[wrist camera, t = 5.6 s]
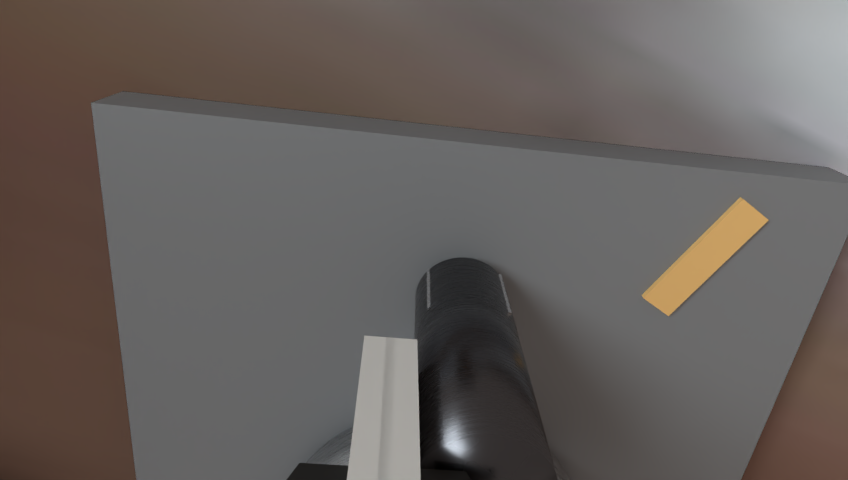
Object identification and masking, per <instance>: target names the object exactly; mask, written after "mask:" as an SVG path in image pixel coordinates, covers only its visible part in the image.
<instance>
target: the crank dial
mask: <svg viewBox="0 0 848 480" xmlns="http://www.w3.org/2000/svg"><path fill="white" fill-rule="evenodd" d="M414 339H417V347H418V389H419V431H420V469H437V470H454V471H466V472H467V474H468V476H469V477H470V479H471V480H571V479H570V477H569V476H568V474H567V472H566V471H565V469H564V467H563V466H562V464H561V463H560V462H559V461H558V460H557V459H556V457H555V456H554V455H553V454H552V453H551V452H550V449H549V446H548V442H547V438H546V435H545V431H544V427H543V424H542V420H541V416H540V413H539V409H538V405H537V402H536V398H535V394H534V390H533V387H532V383H531V379H530V376H529V372H528V368H527V365H526V361H525V357H524V354H523V350H522V346H521V343H520V339H519V335H518V332H517V328H516V324H515V321H514V317H513V313H512V310H511V306H510V302H509V298H508V295H507V291H506V287H505V284H504V282H503V279H502V275H501V274H498V273H497V271H496V270H495V269H493V268H492V267H491V266H490V265H488V264H486V263H484V262H482V261H480V260H477V259H473V258H466V257H458V258H451V259H447V260H444V261H442V262H440V263H438V264H436V265H434V266H433V267H431V268H430V269H427V272H426V273H425V274H424V275H423V277H422V278H421V280H420V282H419V284H418V286H417V289H416V294H415V328H414ZM352 432H353V427H351V428H349V429H347V430H345V431H344V432H342V433H340V434H339V435H337V436H335V437H334V438H332V439H331V440H329V441H328V442H327V443H326V444H324V445H323V446H322V447H321V448H319V449H318V450H317V451H316V452H315V453H314V454H313V455H312V456H311V457H310V459H309V460H308V461H307V462H306V463H312V464H329V465H346V466H348V465H349V457H350V449H351V441H352Z"/></svg>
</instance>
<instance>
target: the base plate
mask: <svg viewBox="0 0 848 480" xmlns="http://www.w3.org/2000/svg"><path fill="white" fill-rule="evenodd" d="M91 106H92V114H93V123H94V131H95V139H96V148H97V156H98V164H99V173H100V181H101V189H102V198H103V206H104V214H105V223H106V231H107V239H108V248H109V256H110V264H111V273H112V281H113V289H114V298H115V306H116V314H117V323H118V331H119V339H120V348H121V356H122V364H123V373H124V381H125V389H126V398H127V406H128V414H129V423H130V431H131V439H132V448H133V456H134V464H135V473H136V480H287V478H288V477H289V476H290V474H291V473H292V472H293V471H294V469H295V468H296V467H297V465H298V464H299V463H306V462H307V461H308V460H309V459H310V457H311V456H312V455H313V454H314V453H315V452H316V451H317V450H318V449H319V448H321V447H322V446H323V445H324V444H326V443H327V442H328V441H329V440H331V439H332V438H334V437H335V436H337V435H339V434H340V433H342V432H344V431H345V430H347V429H349V428H351V427H353V424H354V416H355V408H356V400H357V392H358V384H359V375H360V367H361V359H362V351H363V343H364V336H378V337H391V338H403V339H414V328H415V294H416V289H417V286H418V284H419V282H420V280H421V278H422V277H423V275H424V274H425V273H426V272H427V269H430V268H431V267H433V266H434V265H436V264H438V263H440V262H442V261H444V260H447V259H451V258H458V257H466V258H473V259H477V260H480V261H482V262H484V263H486V264H488V265H490V266H491V267H492V268H493V269H495V270H496V271H497V273H498V274H501V275H502V279H503V282H504V284H505V287H506V291H507V295H508V298H509V302H510V306H511V310H512V313H513V317H514V321H515V324H516V328H517V332H518V335H519V339H520V343H521V346H522V350H523V354H524V357H525V361H526V365H527V368H528V372H529V376H530V379H531V383H532V387H533V390H534V394H535V398H536V402H537V405H538V409H539V413H540V416H541V420H542V424H543V427H544V431H545V435H546V438H547V442H548V446H549V449H550V452H551V453H552V454H553V455H554V456H555V457H556V459H557V460H558V461H559V462H560V463H561V464H562V466H563V467H564V469H565V471H566V472H567V474H568V476H569V477H570V479H571V480H741V479H742V476H743V474H744V472H745V469H746V467H747V465H748V462H749V460H750V458H751V456H752V453H753V451H754V449H755V446H756V444H757V442H758V440H759V437H760V435H761V433H762V430H763V428H764V426H765V424H766V421H767V419H768V417H769V414H770V412H771V410H772V408H773V405H774V403H775V401H776V398H777V396H778V394H779V392H780V389H781V387H782V385H783V382H784V380H785V378H786V376H787V373H788V371H789V369H790V366H791V364H792V362H793V360H794V357H795V355H796V353H797V350H798V348H799V346H800V344H801V341H802V339H803V337H804V334H805V332H806V330H807V327H808V325H809V323H810V321H811V318H812V316H813V314H814V311H815V309H816V307H817V305H818V302H819V300H820V298H821V295H822V293H823V291H824V289H825V286H826V284H827V282H828V279H829V277H830V275H831V273H832V270H833V268H834V266H835V263H836V261H837V259H838V257H839V254H840V252H841V250H842V247H843V245H844V243H845V241H846V238H847V236H848V176H846V175H844V174H842V173H840V172H837V171H835V170H833V169H831V168H828V167H819V166H809V165H800V164H791V163H782V162H772V161H763V160H754V159H745V158H735V157H726V156H717V155H708V154H698V153H689V152H680V151H671V150H661V149H652V148H643V147H634V146H624V145H615V144H606V143H596V142H587V141H578V140H569V139H559V138H550V137H541V136H532V135H522V134H513V133H504V132H495V131H485V130H476V129H467V128H458V127H448V126H439V125H430V124H421V123H411V122H402V121H393V120H384V119H374V118H365V117H356V116H347V115H337V114H328V113H319V112H310V111H300V110H291V109H282V108H272V107H263V106H254V105H245V104H235V103H226V102H217V101H208V100H198V99H189V98H180V97H171V96H161V95H152V94H143V93H134V92H124V91H123V92H120V93H117V94H114V95H111V96H109V97H106V98H103V99H100V100H97V101H95V102H92V103H91Z"/></svg>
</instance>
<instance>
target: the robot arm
mask: <svg viewBox="0 0 848 480" xmlns="http://www.w3.org/2000/svg"><path fill="white" fill-rule="evenodd" d="M287 480H471V479H470V477H469V476H468V474H467V472H466V471H454V470H437V469H420V431H419V389H418V347H417V339H403V338H391V337H378V336H364V343H363V351H362V359H361V367H360V375H359V384H358V392H357V400H356V408H355V416H354V424H353V432H352V441H351V449H350V457H349V465H348V466H346V465H329V464H312V463H299V464H298V465H297V467H296V468H295V469H294V471H293V472H292V473H291V474H290V476H289V477H288V478H287Z"/></svg>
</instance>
